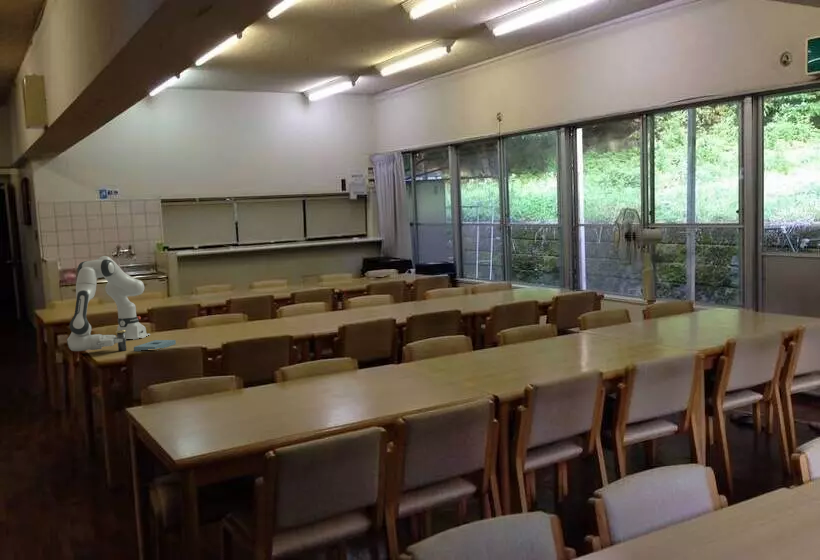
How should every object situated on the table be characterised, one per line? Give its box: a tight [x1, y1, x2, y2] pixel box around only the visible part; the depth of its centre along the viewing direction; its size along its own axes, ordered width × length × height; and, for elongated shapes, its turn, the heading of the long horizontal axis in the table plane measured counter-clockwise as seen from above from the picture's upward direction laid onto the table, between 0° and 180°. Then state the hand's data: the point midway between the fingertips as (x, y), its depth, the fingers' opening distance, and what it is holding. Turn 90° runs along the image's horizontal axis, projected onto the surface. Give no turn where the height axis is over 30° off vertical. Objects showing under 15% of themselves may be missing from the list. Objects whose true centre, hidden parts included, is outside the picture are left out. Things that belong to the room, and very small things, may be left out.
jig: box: [133, 339, 177, 352], centre depth 433 cm, size 22×14×2 cm, turn 167°
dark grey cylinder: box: [115, 329, 127, 352], centre depth 428 cm, size 6×6×12 cm
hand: (123, 339), depth 428 cm, fingers closed on dark grey cylinder, 4 cm apart
